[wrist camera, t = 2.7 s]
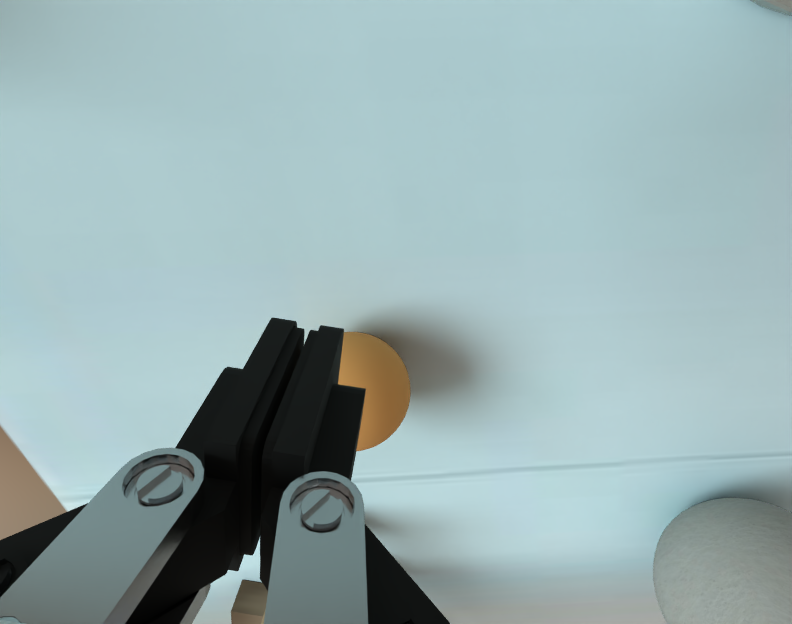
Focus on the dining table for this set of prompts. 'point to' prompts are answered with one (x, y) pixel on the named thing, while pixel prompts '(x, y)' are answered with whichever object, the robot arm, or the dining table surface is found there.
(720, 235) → the dining table surface
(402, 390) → the orange ball
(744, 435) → the dining table surface
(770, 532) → the ball
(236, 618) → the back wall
